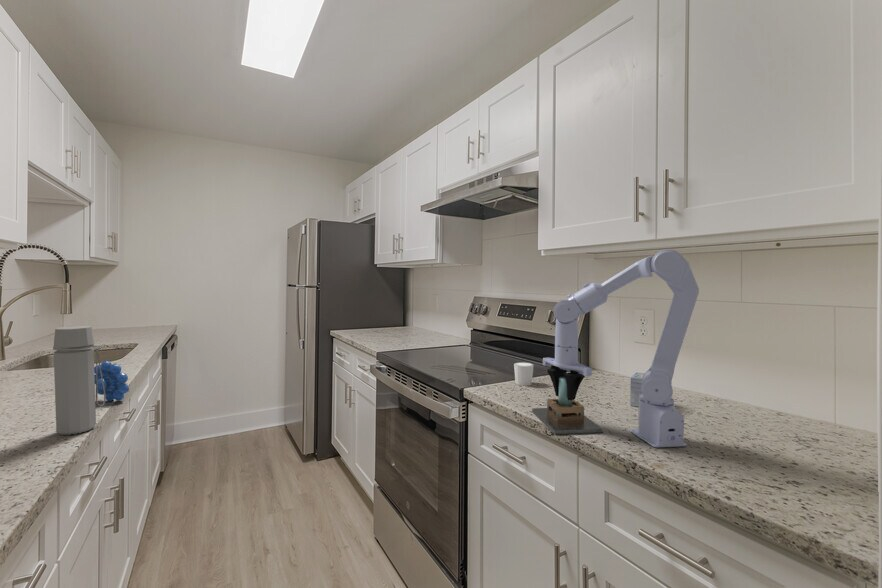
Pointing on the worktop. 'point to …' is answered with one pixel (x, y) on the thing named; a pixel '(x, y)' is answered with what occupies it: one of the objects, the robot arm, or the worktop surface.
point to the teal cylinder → (563, 393)
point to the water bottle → (75, 379)
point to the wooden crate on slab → (566, 418)
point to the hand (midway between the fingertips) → (565, 397)
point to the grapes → (111, 381)
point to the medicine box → (635, 388)
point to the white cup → (523, 373)
